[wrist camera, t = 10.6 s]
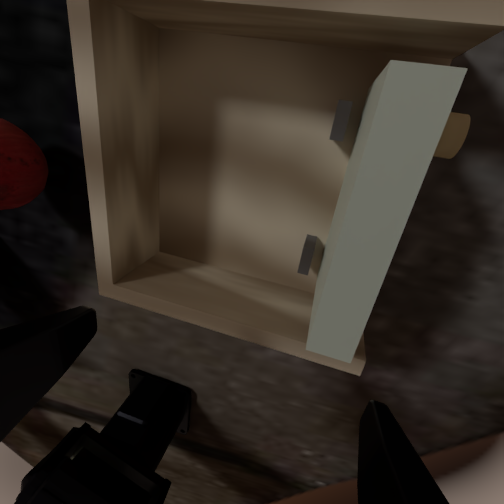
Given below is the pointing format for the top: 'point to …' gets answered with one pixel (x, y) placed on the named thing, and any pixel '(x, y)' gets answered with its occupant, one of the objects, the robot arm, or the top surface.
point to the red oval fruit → (19, 167)
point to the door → (381, 194)
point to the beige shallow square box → (236, 144)
